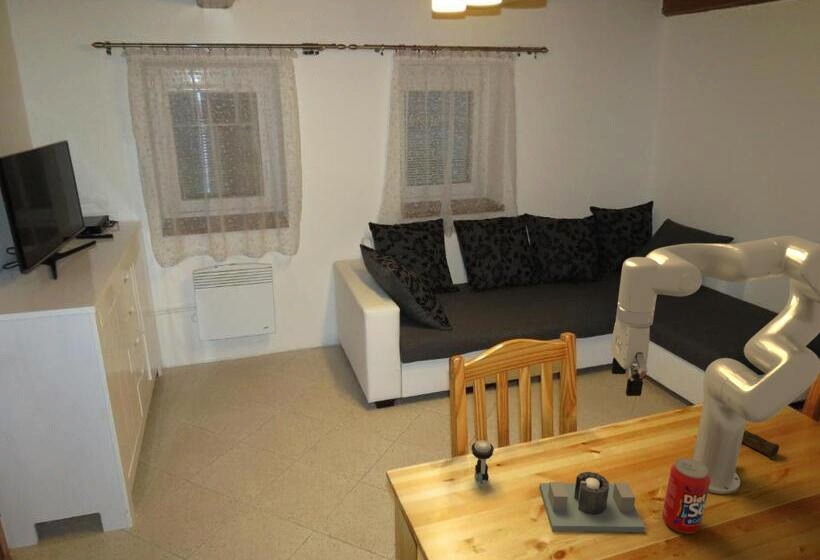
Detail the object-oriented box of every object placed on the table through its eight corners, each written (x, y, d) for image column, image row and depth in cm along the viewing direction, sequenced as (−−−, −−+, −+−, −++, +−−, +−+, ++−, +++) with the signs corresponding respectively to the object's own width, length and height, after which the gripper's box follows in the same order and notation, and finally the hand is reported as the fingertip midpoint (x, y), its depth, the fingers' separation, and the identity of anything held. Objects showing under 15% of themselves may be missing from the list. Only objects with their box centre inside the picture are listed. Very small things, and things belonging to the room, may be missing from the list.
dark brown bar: (778, 456, 153) (782, 441, 152) (770, 461, 151) (773, 446, 150) (711, 421, 169) (714, 407, 167) (703, 425, 167) (705, 411, 165)
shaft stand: (622, 489, 141) (626, 463, 138) (643, 532, 127) (648, 504, 125) (539, 488, 141) (541, 462, 138) (552, 531, 128) (555, 503, 125)
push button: (495, 488, 140) (498, 453, 137) (474, 490, 140) (475, 455, 137) (488, 471, 147) (490, 437, 143) (467, 472, 146) (469, 438, 143)
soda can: (664, 506, 135) (674, 451, 130) (701, 518, 131) (713, 463, 126) (658, 527, 129) (669, 471, 124) (698, 541, 125) (710, 483, 120)
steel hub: (600, 493, 137) (603, 471, 135) (610, 515, 130) (613, 493, 128) (572, 492, 137) (574, 471, 135) (580, 514, 130) (583, 492, 128)
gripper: (605, 299, 135) (597, 366, 140) (631, 331, 118) (621, 404, 124) (637, 299, 135) (628, 365, 140) (668, 331, 118) (657, 404, 124)
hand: (625, 384), depth 132 cm, fingers open, 9 cm apart
